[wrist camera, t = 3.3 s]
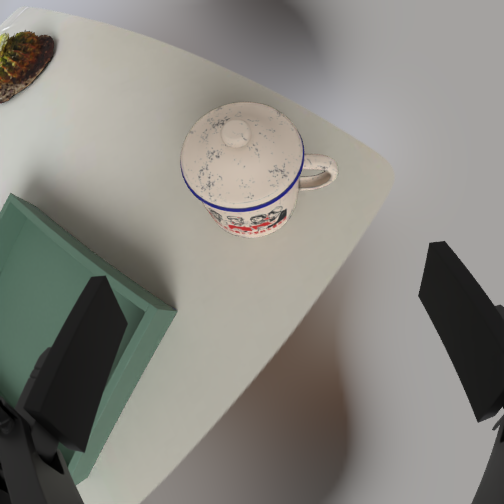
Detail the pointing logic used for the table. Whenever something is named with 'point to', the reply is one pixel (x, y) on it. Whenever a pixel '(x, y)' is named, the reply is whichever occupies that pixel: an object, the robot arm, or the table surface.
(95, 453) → the tray
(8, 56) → the cactus
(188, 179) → the teacup with lid
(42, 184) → the table surface
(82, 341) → the robot arm
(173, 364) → the table surface
